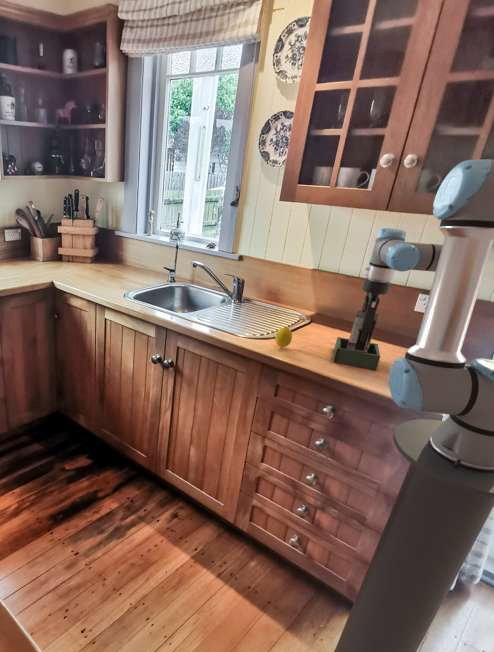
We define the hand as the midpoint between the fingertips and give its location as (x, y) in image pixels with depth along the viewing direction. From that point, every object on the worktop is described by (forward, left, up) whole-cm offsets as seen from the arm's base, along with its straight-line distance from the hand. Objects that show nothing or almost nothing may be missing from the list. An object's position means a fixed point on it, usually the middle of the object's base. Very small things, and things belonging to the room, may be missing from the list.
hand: (358, 344), depth 157 cm
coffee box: (0, 0, -6) cm, 6 cm away
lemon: (-2, +24, -6) cm, 25 cm away
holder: (0, 0, -6) cm, 6 cm away
